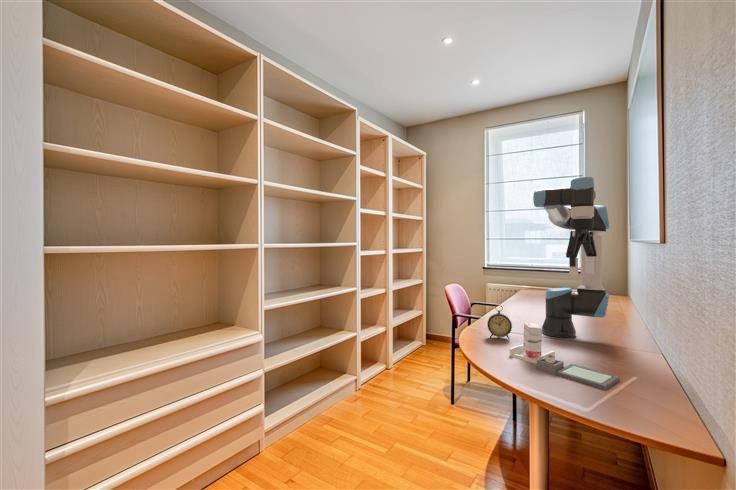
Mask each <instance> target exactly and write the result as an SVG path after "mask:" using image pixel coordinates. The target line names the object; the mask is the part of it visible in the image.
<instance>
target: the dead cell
mask: <svg viewBox="0 0 736 490" xmlns="http://www.w3.org/2000/svg"><path fill="white" fill-rule="evenodd" d="M555 360H556V356H555V357H554V356H552V355H546V356H545V362H546V363H550V364H553V365H554V364H555Z"/></svg>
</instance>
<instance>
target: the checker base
mask: <svg viewBox="0 0 736 490" xmlns="http://www.w3.org/2000/svg"><path fill="white" fill-rule="evenodd" d="M572 366H576V367H580V368H583V369H587V370H590V371H594V372H598V373H601V374H605V375H609V376H612V378H610V379H609V380H607V381H606V382H604V383H602V384H601V383H598V382H595V381H591V380H588V379H584V378H581V377H578V376H574V375H571V374H567V373H564V372H562V371H564V370H566V369H568V368H570V367H572ZM554 375H556V376H558V377H561V378H565V379H567V380H571V381H574V382H578V383H581V384H584V385H588V386H590V387H593V388H594V387H595V388H597V389H601V390H602V391H603V390H604V391H606V390H607V389H608V388H610V387H612V386H613V385H615V384H616V383H618V382H619V381H620V376H617V375H614V374H611V373H607V372H603V371H599V370H595V369H594V368H593V369H592V368H588V367H584V366H580V365H577V364H573V363H569V364H566V366H564V367H563V368H561V369H559V370H557V371H555V374H554Z"/></svg>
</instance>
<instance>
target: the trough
mask: <svg viewBox="0 0 736 490" xmlns="http://www.w3.org/2000/svg"><path fill="white" fill-rule="evenodd" d="M546 355H552V356H554V357H555V358H556V351H555V350H551V351H548V352H546V353H542V352H541V356H539V358H529V357H528V356H527V355H526V354H525V353H524V351H523V343H522V344H519V345H516V346H513V347H510V348H509V356H510V357H511V358H514V359H519V360H521V361H524V362H525V361H526V362H528V363H533V364H536V365H537V360H539V359H542V358H544V357H545V356H546Z"/></svg>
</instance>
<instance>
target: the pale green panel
mask: <svg viewBox="0 0 736 490" xmlns="http://www.w3.org/2000/svg"><path fill="white" fill-rule="evenodd" d="M562 372H564V373H567V374H571V375H574V376H578V377H581V378H584V379H588V380H591V381H595V382H598V383H601V384H602V383H604V382H606V381H607V380H609V379H610V378H612V376H609V375H605V374H601V373H598V372H594V371H590V370H587V369H583V368H580V367H576V366H572V367H570V368H568V369H566V370H564V371H562Z"/></svg>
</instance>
